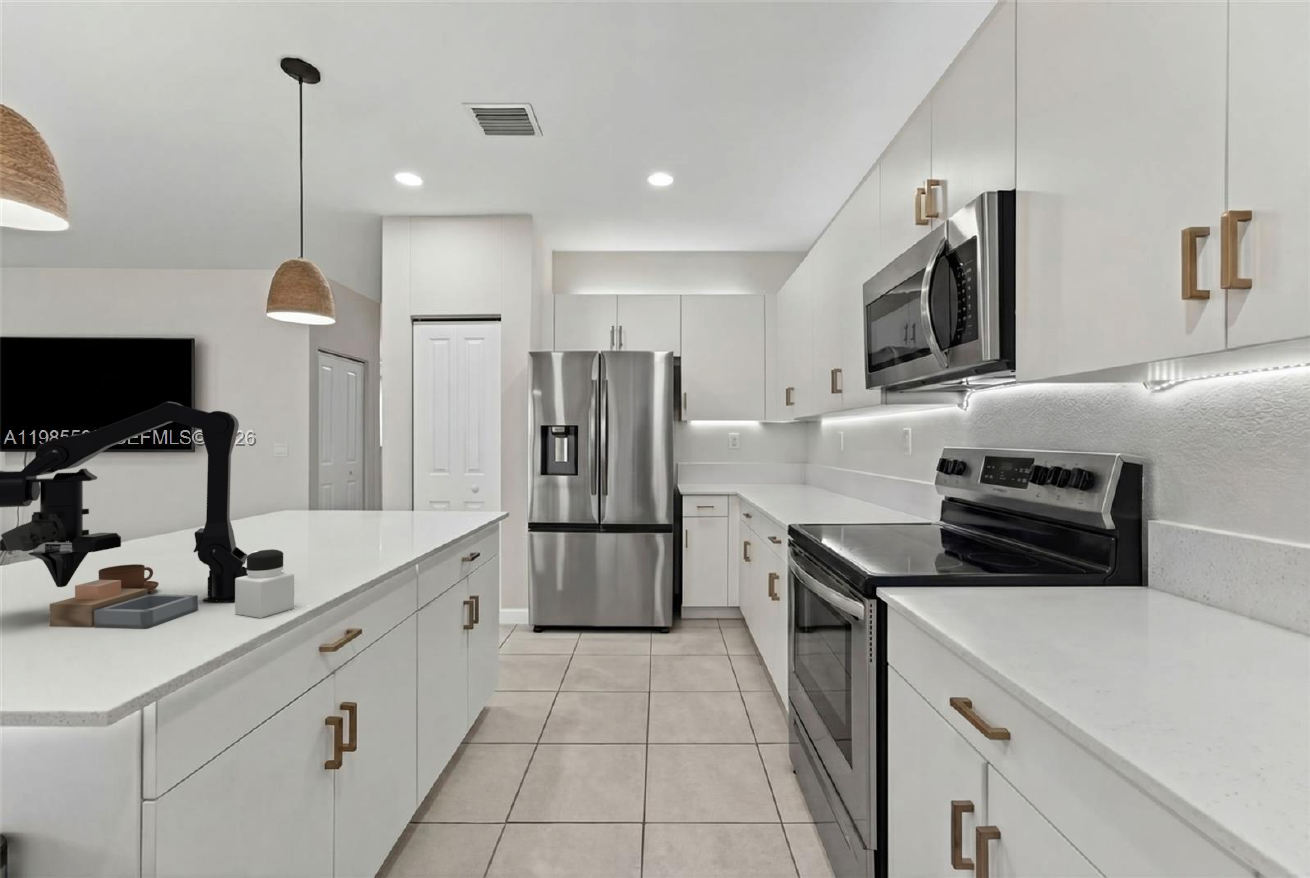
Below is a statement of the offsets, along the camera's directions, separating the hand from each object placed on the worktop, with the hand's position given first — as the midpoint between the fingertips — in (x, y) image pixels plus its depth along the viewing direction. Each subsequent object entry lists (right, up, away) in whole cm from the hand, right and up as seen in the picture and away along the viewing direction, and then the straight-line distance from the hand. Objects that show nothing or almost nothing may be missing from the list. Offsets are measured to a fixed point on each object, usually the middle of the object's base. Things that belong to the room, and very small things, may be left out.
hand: (61, 586), depth 112 cm
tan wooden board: (+8, -6, 0) cm, 10 cm away
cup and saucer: (-1, -6, +14) cm, 15 cm away
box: (+17, -6, -1) cm, 18 cm away
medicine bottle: (+36, -6, +4) cm, 37 cm away
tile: (+7, -2, 0) cm, 8 cm away
